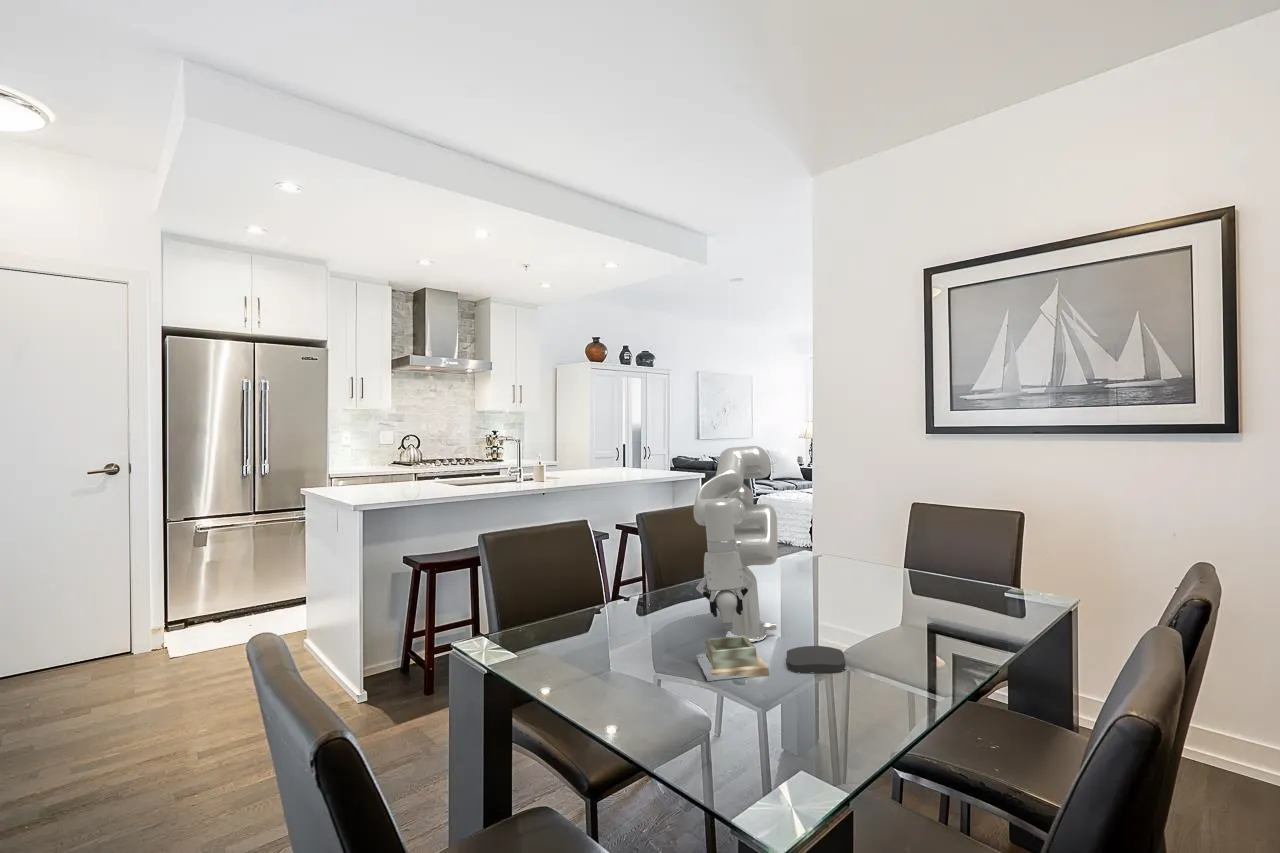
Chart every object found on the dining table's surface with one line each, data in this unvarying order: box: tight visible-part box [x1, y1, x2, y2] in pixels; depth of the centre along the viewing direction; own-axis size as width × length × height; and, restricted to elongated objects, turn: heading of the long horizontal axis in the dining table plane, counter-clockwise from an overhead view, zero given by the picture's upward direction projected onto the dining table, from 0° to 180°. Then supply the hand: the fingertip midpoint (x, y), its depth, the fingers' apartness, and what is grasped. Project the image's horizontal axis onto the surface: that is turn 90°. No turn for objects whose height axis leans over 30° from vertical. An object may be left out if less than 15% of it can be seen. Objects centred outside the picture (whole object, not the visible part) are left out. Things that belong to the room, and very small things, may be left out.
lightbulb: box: [715, 590, 737, 632], centre depth 166 cm, size 6×6×11 cm
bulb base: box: [696, 635, 770, 678], centre depth 166 cm, size 16×16×6 cm
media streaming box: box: [786, 645, 847, 674], centre depth 164 cm, size 15×15×3 cm
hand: (726, 614), depth 166 cm, fingers closed on lightbulb, 5 cm apart
